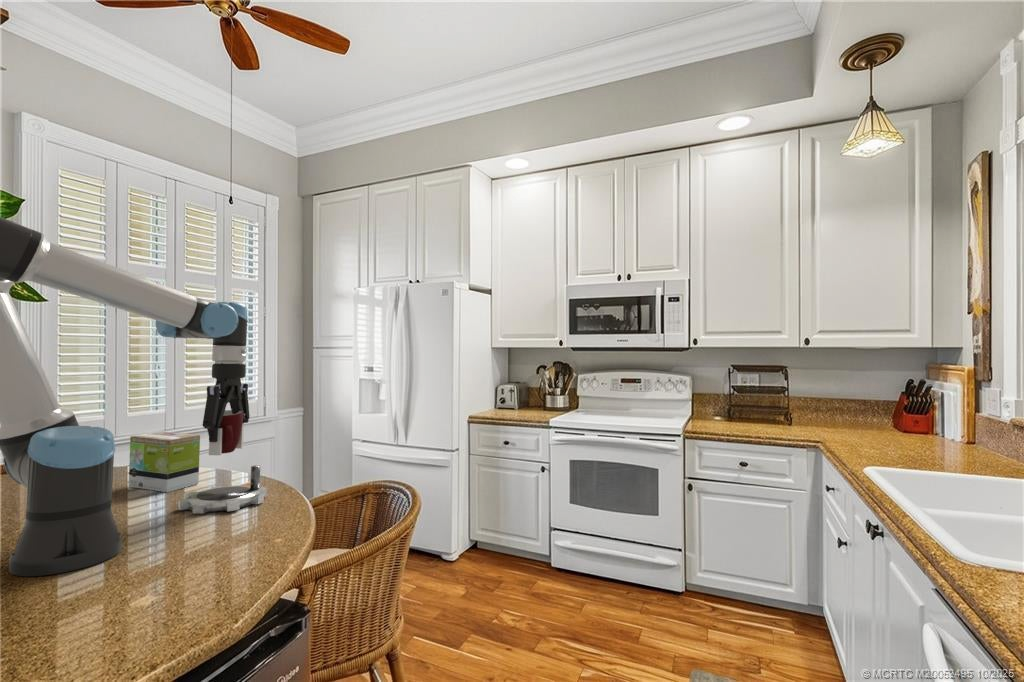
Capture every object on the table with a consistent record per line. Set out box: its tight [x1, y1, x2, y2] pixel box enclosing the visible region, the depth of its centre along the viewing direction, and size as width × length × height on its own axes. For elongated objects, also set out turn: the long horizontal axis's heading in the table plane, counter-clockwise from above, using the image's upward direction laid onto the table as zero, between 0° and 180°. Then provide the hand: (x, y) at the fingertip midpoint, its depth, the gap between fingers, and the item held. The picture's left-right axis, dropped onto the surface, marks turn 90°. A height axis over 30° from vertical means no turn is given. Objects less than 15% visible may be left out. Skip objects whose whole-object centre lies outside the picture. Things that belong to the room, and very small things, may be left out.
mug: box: [207, 409, 243, 455], centre depth 124 cm, size 10×8×10 cm
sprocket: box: [177, 465, 268, 515], centre depth 123 cm, size 19×19×8 cm
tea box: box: [128, 431, 201, 493], centre depth 139 cm, size 15×10×15 cm
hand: (226, 451), depth 124 cm, fingers closed on mug, 8 cm apart
